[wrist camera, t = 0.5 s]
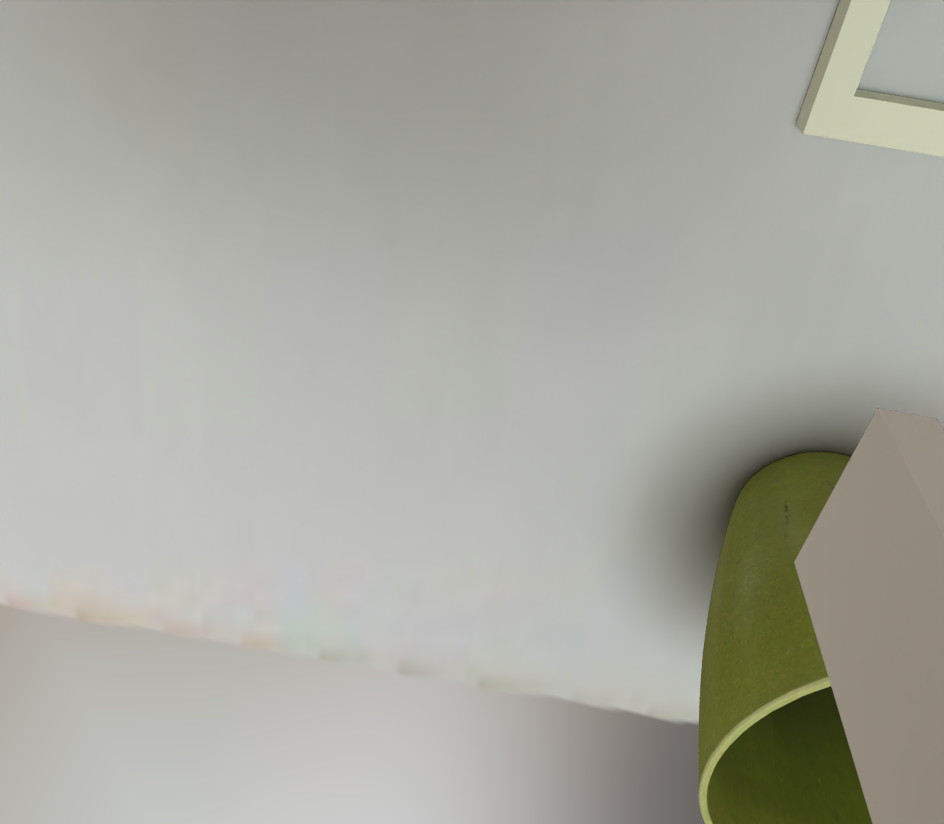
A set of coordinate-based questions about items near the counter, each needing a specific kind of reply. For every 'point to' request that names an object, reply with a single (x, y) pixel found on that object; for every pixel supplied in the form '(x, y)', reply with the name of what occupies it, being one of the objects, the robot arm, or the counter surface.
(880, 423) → the robot arm
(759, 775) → the flower pot
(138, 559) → the counter surface
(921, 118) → the pale green post stand
